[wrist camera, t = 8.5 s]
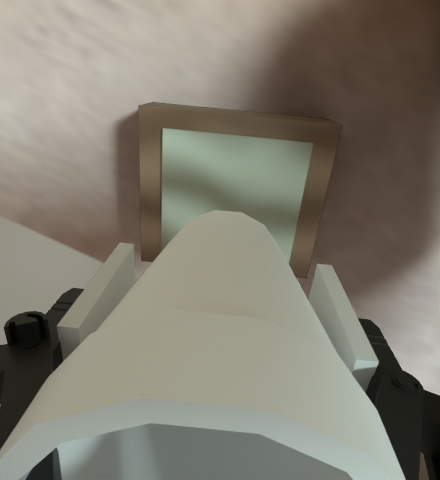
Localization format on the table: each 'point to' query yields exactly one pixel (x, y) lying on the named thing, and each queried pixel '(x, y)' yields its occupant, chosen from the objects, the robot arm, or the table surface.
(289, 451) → the foam cup
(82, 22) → the table surface
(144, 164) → the walnut plinth
